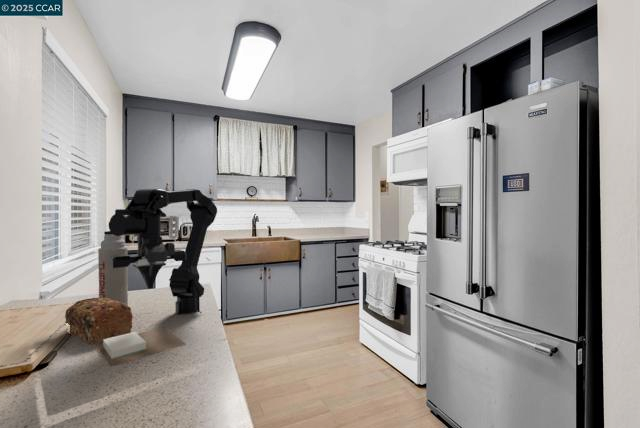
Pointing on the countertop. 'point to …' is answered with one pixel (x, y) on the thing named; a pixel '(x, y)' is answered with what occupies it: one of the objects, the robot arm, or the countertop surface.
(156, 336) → the board
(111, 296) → the thermos bottle
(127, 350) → the tile
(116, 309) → the bread
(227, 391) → the countertop surface
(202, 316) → the countertop surface
